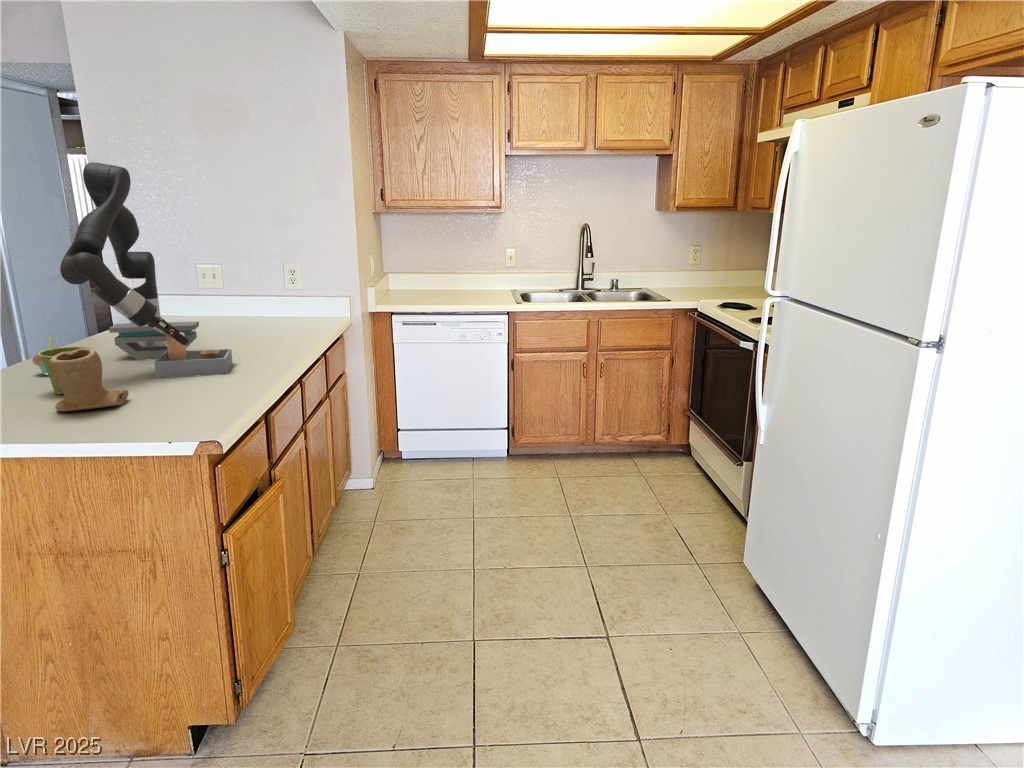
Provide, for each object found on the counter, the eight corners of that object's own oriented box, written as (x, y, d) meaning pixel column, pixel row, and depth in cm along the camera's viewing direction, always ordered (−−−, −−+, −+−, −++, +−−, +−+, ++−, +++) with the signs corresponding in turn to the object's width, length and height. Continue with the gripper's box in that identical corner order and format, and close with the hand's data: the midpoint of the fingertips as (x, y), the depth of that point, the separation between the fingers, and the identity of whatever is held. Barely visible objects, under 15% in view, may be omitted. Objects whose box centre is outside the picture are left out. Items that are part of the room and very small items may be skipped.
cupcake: (76, 371, 196) (70, 332, 193) (49, 378, 189) (42, 337, 186) (56, 369, 199) (49, 330, 196) (28, 375, 191) (20, 335, 188)
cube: (201, 369, 198) (200, 353, 197) (204, 366, 203) (202, 350, 201) (219, 369, 200) (217, 353, 198) (221, 365, 204) (220, 349, 203)
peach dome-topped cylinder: (168, 371, 196) (164, 335, 193) (171, 367, 200) (167, 332, 197) (186, 370, 197) (182, 334, 194) (189, 366, 202) (185, 331, 199)
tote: (156, 377, 191) (154, 361, 190) (166, 366, 204) (164, 351, 203) (226, 374, 196) (225, 358, 195) (232, 363, 209) (231, 348, 208)
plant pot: (41, 400, 168) (33, 357, 165) (48, 388, 178) (41, 348, 175) (95, 394, 173) (88, 353, 170) (99, 384, 184) (92, 345, 181)
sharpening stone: (202, 352, 224) (198, 321, 221) (197, 357, 217) (194, 325, 214) (121, 356, 218) (116, 323, 215) (113, 361, 210) (108, 328, 208)
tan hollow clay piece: (50, 418, 154) (38, 357, 150) (61, 405, 164) (51, 346, 160) (123, 412, 159) (114, 352, 155) (130, 399, 170) (121, 342, 166)
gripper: (151, 299, 183) (198, 334, 194) (135, 294, 192) (180, 328, 203) (133, 320, 180) (181, 354, 191) (117, 314, 190) (164, 347, 201)
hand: (181, 340), depth 197 cm, fingers open, 8 cm apart
